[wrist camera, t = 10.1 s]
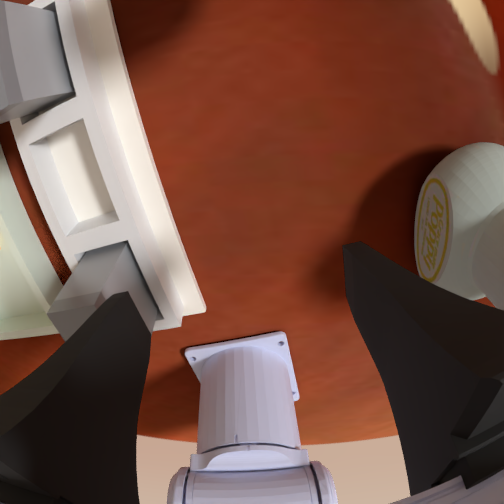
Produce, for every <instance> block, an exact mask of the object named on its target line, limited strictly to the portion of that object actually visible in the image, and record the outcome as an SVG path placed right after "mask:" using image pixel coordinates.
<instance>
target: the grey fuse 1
mask: <svg viewBox="0 0 504 504" xmlns="http://www.w3.org/2000/svg"><path fill="white" fill-rule="evenodd" d="M75 94H76V92H75V89H74V85H73V81H72V78H71V74H70V70H69V66H68V62H67V58H66V53H65V49H64V45H63V40H62V36H61V31H60V26H59V21H58V16H57V12H53V11H49V10H45V9H41V8H37V7H32V6H28V5H23V4H18V3H12V2H7V1H1V0H0V124H1V123H4V122H7V121H10V120H13V119H16V118H19V117H23V116H26V115H29V114H33V113H36V112H40V111H43V110H45V109H47V108H49V107H51V106H53V105H55V104H57V103H59V102H61V101H63V100H65V99H67V98H69V97H71V96H73V95H75Z"/></svg>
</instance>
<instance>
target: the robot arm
mask: <svg viewBox="0 0 504 504" xmlns="http://www.w3.org/2000/svg"><path fill="white" fill-rule="evenodd" d="M342 247H343V259H344V272H345V287H346V297H347V300H348V303H349V306H350V309H351V312H352V315H353V318H354V320H355V323H356V325H357V327H358V329H359V331H360V333H361V335H362V337H363V339H364V341H365V343H366V346H367V348H368V350H369V352H370V354H371V356H372V358H373V360H374V362H375V364H376V367H377V369H378V371H379V373H380V376H381V378H382V381H383V383H384V386H385V389H386V392H387V395H388V399H389V402H390V405H391V408H392V412H393V415H394V419H395V423H396V426H397V430H398V434H399V438H400V442H401V446H402V451H403V455H404V460H405V465H406V470H407V476H408V482H409V488H410V495H411V497H408V498H405V499H402V500H400V501H396V502H393V503H390V504H504V310H501V309H497V308H494V307H490V306H487V305H484V304H481V303H478V302H475V301H472V300H470V299H467V298H464V297H462V296H459V295H457V294H454V293H452V292H450V291H448V290H445V289H443V288H441V287H439V286H437V285H435V284H432V283H430V282H429V281H427V280H425V279H423V278H421V277H419V276H417V275H415V274H414V273H412V272H410V271H408V270H407V269H405V268H403V267H402V266H400V265H398V264H397V263H395V262H393V261H392V260H390V259H388V258H387V257H385V256H384V255H382V254H380V253H379V252H377V251H376V250H374V249H372V248H371V247H369V246H368V245H366V244H364V243H363V242H361V241H360V242H355V243H351V244H346V245H342ZM280 341H283V342H280ZM150 346H151V333H150V331H149V329H148V327H147V326H146V324H145V322H144V320H143V318H142V317H141V315H140V313H139V311H138V309H137V307H136V305H135V303H134V302H133V300H132V298H131V296H130V294H129V292H128V291H126V292H121V293H116V294H113V295H112V296H110V297H109V298H108V299H107V300H106V301H105V302H104V303H103V304H102V305H101V306H100V307H99V308H98V309H97V310H96V311H95V312H94V313H93V314H92V315H91V316H90V317H89V318H88V319H87V320H86V321H85V322H84V323H83V324H82V325H81V326H80V327H79V328H78V330H77V331H76V332H75V333H74V334H73V335H72V336H71V337H70V338H69V339H68V340H67V341H66V342H65V343H64V344H63V345H62V346H61V347H60V348H59V349H58V350H57V351H56V352H55V353H54V354H53V355H52V356H51V357H50V358H48V359H47V360H46V361H45V362H44V363H43V364H42V365H41V366H39V367H38V368H37V369H36V370H35V371H34V372H32V373H31V374H30V375H28V376H27V377H26V378H24V379H23V380H22V381H20V382H19V383H18V384H17V385H15V386H14V387H13V388H11V389H10V390H8V391H7V392H5V393H4V394H2V395H0V504H140V503H139V496H138V487H137V471H136V439H137V422H138V415H139V409H140V403H141V398H142V393H143V389H144V384H145V379H146V374H147V369H148V364H149V358H150ZM185 356H186V358H187V360H188V362H189V364H190V365H191V367H192V369H193V371H194V373H195V374H196V376H197V378H198V380H199V381H200V383H201V389H200V404H199V421H198V440H197V454H191V459H190V467H181V468H180V469H179V470H178V472H177V473H176V474H175V475H174V476H173V477H172V479H171V481H170V484H169V489H168V496H167V504H338V501H337V494H336V489H335V485H334V482H333V478H332V476H331V474H330V472H329V470H328V469H327V468H326V467H325V466H323V465H322V464H321V463H320V462H319V461H310V462H309V458H308V451H307V449H301V444H300V438H299V432H298V425H297V419H296V413H295V407H294V401H297V400H298V399H299V393H298V388H297V384H296V379H295V374H294V370H293V365H292V360H291V356H290V351H289V347H288V342H287V338H286V334H285V333H284V332H281V331H280V332H274V333H269V334H264V335H259V336H254V337H248V338H243V339H238V340H232V341H226V342H221V343H215V344H209V345H203V346H196V347H190V348H187V349H186V350H185ZM194 357H195V358H194Z"/></svg>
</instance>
